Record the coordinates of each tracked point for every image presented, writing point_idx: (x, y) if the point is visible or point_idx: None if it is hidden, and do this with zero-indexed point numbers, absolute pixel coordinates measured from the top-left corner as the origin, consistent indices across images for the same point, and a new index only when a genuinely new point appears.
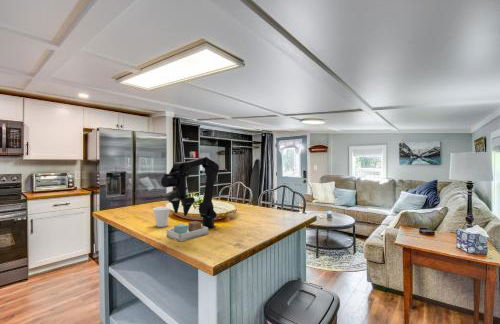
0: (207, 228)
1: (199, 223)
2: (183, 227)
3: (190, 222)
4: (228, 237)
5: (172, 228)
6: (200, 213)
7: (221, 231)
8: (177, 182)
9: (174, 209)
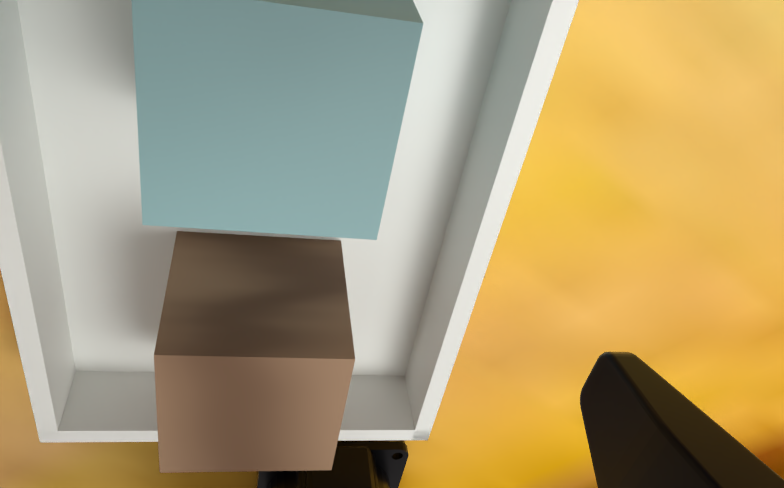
0: (39, 420)
1: (160, 440)
2: (139, 114)
3: (326, 382)
4: None
5: (556, 57)
6: None
7: (42, 484)
8: None
9: (718, 475)
